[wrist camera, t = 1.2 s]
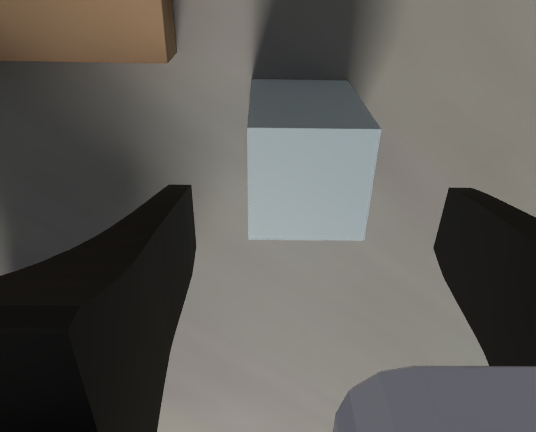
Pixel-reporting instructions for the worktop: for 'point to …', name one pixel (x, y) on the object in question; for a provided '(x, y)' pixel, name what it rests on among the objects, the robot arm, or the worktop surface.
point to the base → (87, 31)
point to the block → (309, 160)
